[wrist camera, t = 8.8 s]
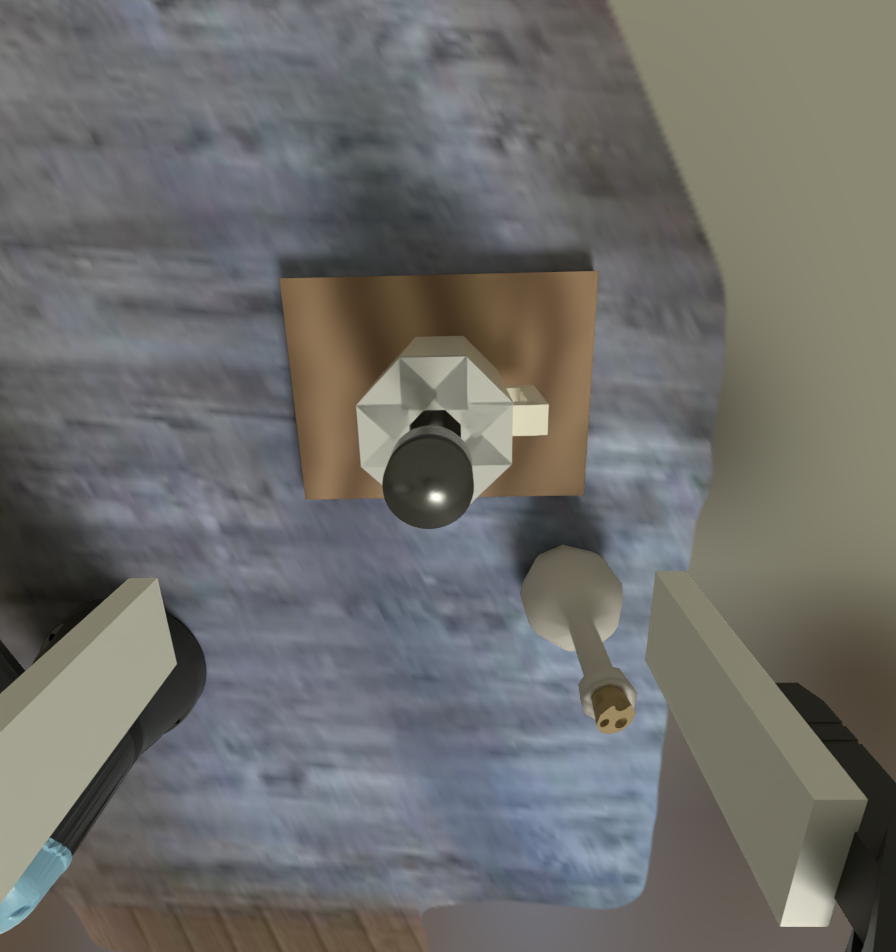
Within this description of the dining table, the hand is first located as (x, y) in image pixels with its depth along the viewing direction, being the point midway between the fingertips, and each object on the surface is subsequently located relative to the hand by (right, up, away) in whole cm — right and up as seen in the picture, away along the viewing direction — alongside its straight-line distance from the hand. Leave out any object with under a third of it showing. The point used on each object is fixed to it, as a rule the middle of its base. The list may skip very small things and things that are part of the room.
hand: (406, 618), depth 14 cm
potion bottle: (+12, -6, +37) cm, 39 cm away
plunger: (+1, +10, +28) cm, 30 cm away
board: (+1, +11, +31) cm, 33 cm away
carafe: (+2, +10, +29) cm, 31 cm away
